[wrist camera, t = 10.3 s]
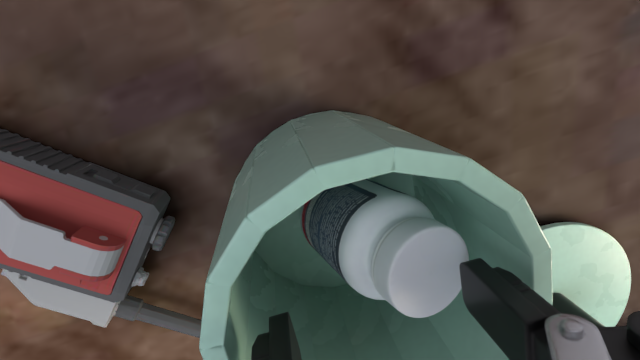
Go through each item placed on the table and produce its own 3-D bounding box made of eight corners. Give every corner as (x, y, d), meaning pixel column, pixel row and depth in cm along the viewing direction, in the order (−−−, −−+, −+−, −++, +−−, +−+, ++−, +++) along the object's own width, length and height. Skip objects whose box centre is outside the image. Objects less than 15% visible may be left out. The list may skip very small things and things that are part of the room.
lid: (449, 246, 26) (503, 296, 20) (622, 197, 27) (721, 232, 21) (467, 387, 30) (515, 463, 24) (614, 341, 31) (695, 403, 25)
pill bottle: (298, 257, 22) (369, 348, 14) (297, 174, 21) (373, 219, 13) (374, 245, 24) (475, 318, 16) (376, 168, 23) (486, 204, 15)
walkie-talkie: (-99, 240, 20) (235, 339, 25) (-194, 284, 16) (229, 392, 21) (-63, 97, 18) (288, 234, 24) (-159, 104, 14) (293, 269, 19)
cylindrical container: (205, 139, 21) (141, 211, 10) (408, 89, 22) (550, 106, 11) (262, 312, 25) (260, 499, 14) (433, 264, 26) (555, 404, 15)
